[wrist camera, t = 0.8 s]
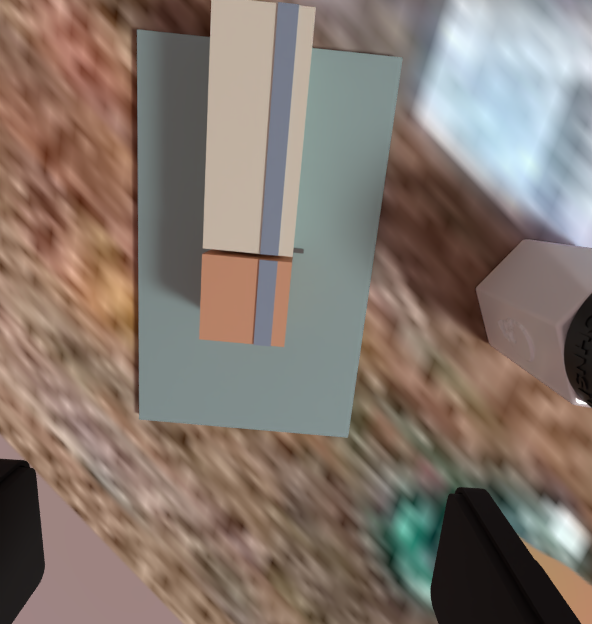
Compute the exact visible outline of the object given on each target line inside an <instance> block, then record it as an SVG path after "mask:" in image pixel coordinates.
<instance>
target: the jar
mask: <svg viewBox="0 0 592 624" xmlns="http://www.w3.org/2000/svg"><path fill="white" fill-rule="evenodd" d="M476 293H477V297H478V301H479V305H480V309H481V313H482V317H483V321H484V325H485V329H486V333H487V337H488V342H489V344H490V345H491V346H492V347H493V348H495V349H496V350H497V351H499V352H500V353H502V354H503V355H504V356H506V357H507V358H509V359H510V360H511V361H513V362H514V363H516V364H517V365H518V366H520V367H521V368H523V369H524V370H525V371H527V372H528V373H530V374H531V375H532V376H534V377H535V378H537V379H538V380H539V381H541V382H542V383H544V384H545V385H546V386H548V387H549V388H550V389H552V390H553V391H555V392H556V393H557V394H559V395H560V396H562V397H563V398H564V399H566V400H567V401H569V402H570V403H571V404H573V405H578V406H583V407H589V408H592V248H588V247H581V246H574V245H567V244H559V243H552V242H545V241H538V240H530V239H524V240H522V241H521V242H520V243H519V244H518V245H517V246H516V247H515V248H514V249H513V250H512V251H511V252H510V253H509V254H508V255H507V256H506V257H505V259H504V260H503V261H502V262H501V263H500V264H499V265H498V266H497V267H496V268H495V269H494V270H493V271H492V272H491V273H490V274H489V275H488V276H487V277H486V278H485V279H484V280H483V281H482V282H481V283H480V284H479V285H478V286H477V287H476Z"/></svg>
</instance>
